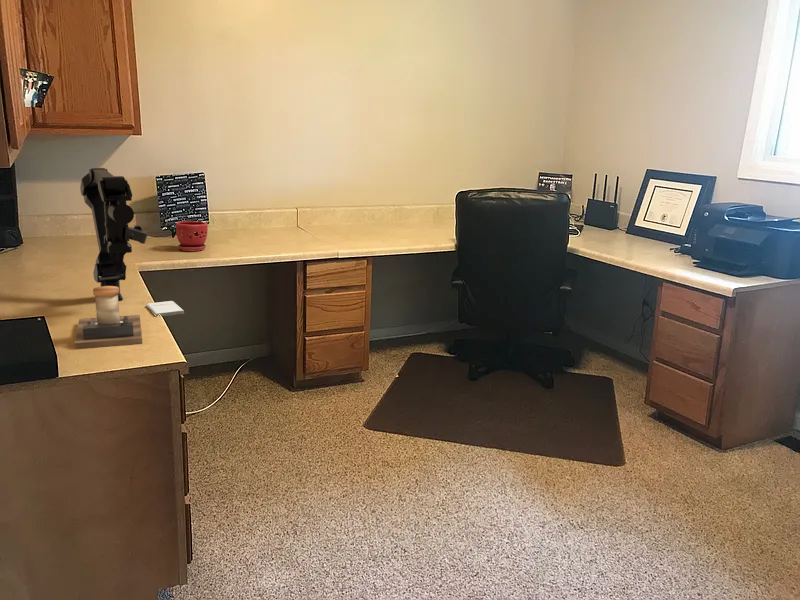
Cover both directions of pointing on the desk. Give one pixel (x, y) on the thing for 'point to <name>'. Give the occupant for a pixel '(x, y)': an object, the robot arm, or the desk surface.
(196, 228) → the plant pot
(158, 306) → the external hard drive
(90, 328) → the grey slider guide rails
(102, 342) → the track board
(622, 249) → the desk surface
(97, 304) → the knob slider
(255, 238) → the desk surface
